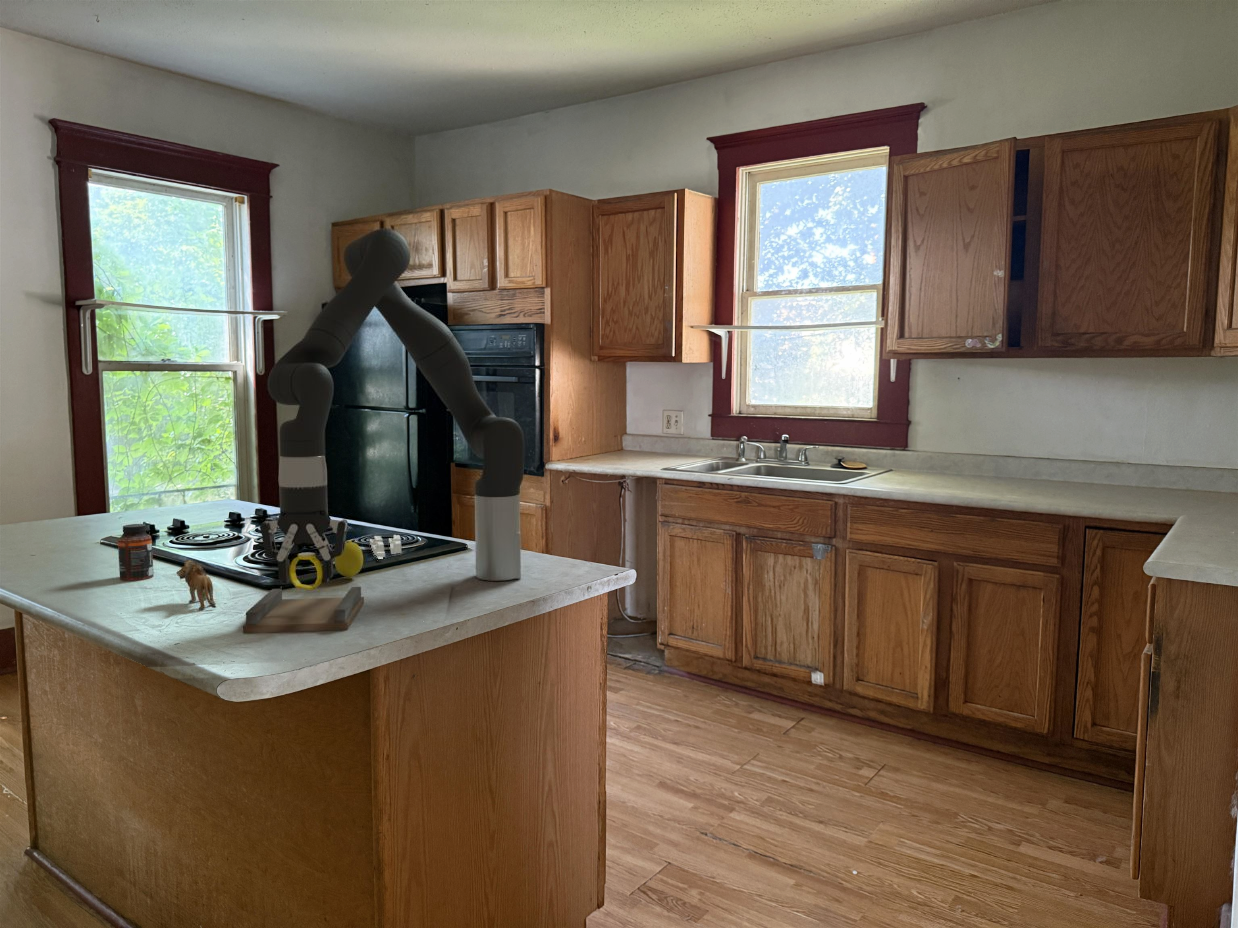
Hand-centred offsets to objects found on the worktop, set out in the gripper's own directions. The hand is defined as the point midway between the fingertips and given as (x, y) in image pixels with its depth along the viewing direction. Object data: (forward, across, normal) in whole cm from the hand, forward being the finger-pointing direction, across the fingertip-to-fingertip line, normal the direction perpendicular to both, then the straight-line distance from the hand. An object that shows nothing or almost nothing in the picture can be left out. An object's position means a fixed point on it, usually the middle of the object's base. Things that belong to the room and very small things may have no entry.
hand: (306, 581), depth 143 cm
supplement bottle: (+6, +40, -33) cm, 52 cm away
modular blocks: (+7, -6, -53) cm, 54 cm away
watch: (+1, 0, 0) cm, 1 cm away
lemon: (+6, -2, -29) cm, 30 cm away
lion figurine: (+6, +21, -12) cm, 25 cm away
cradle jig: (+6, 0, 0) cm, 6 cm away
